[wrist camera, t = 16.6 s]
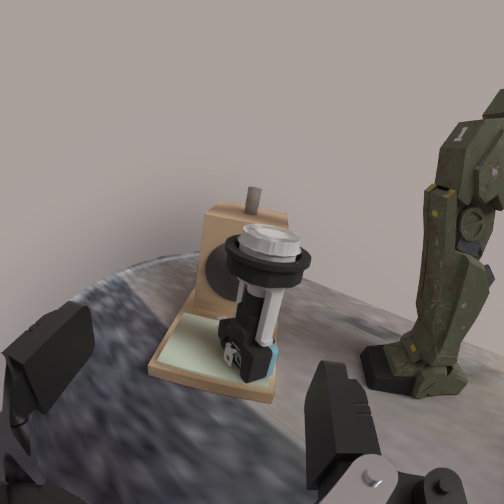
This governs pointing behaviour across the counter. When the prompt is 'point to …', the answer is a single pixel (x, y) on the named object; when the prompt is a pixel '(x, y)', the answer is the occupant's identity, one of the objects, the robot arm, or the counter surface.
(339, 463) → the robot arm
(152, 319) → the counter surface
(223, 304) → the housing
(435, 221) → the mechanical leg
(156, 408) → the counter surface
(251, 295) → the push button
